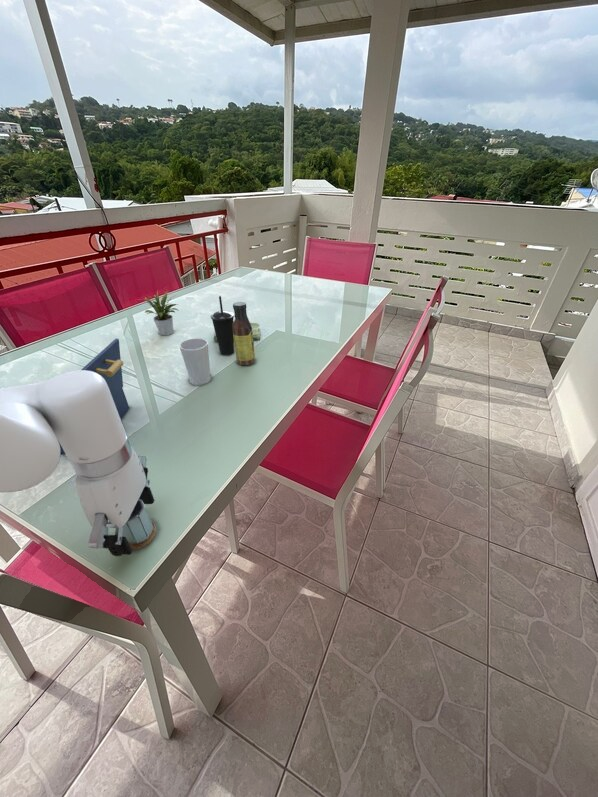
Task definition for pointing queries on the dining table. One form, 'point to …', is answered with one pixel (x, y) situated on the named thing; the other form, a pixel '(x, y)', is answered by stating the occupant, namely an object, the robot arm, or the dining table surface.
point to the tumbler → (138, 525)
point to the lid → (109, 367)
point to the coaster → (145, 541)
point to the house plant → (162, 314)
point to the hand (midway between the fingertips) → (134, 526)
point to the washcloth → (254, 329)
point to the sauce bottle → (243, 335)
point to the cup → (196, 360)
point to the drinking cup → (224, 330)
